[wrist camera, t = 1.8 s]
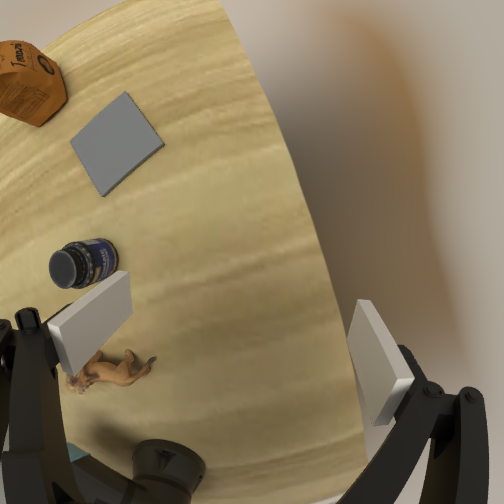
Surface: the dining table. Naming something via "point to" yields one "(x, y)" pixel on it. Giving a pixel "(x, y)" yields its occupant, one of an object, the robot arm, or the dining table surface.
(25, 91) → the coffee package
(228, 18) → the dining table surface
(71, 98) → the dining table surface
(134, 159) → the pad
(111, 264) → the pill bottle
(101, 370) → the lion figurine
